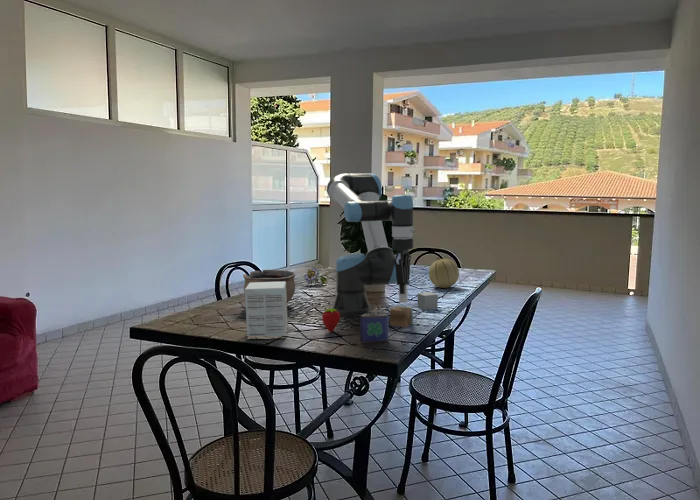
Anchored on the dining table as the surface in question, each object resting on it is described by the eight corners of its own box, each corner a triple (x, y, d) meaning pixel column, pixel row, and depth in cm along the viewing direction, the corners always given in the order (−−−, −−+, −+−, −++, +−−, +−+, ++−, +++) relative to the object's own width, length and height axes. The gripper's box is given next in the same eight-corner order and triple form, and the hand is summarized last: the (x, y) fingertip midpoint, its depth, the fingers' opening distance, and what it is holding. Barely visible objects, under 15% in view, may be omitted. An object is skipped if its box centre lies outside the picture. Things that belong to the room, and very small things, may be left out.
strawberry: (344, 330, 180) (343, 302, 179) (334, 335, 173) (333, 307, 172) (329, 328, 183) (328, 301, 181) (318, 334, 176) (318, 305, 175)
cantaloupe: (459, 290, 246) (459, 259, 244) (428, 290, 248) (428, 259, 247) (458, 285, 260) (458, 256, 259) (429, 284, 263) (428, 256, 261)
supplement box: (251, 330, 183) (249, 282, 181) (288, 328, 184) (286, 280, 182) (246, 340, 170) (243, 289, 168) (286, 339, 171) (284, 287, 169)
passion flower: (310, 296, 267) (297, 278, 267) (320, 288, 277) (306, 271, 277) (325, 285, 262) (311, 267, 262) (334, 278, 271) (320, 260, 271)
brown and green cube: (412, 323, 187) (405, 327, 182) (398, 321, 191) (390, 325, 186) (412, 307, 186) (404, 311, 182) (397, 305, 190) (390, 309, 185)
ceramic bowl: (268, 300, 233) (266, 267, 231) (306, 305, 222) (305, 270, 220) (233, 310, 214) (232, 275, 213) (274, 316, 203) (272, 278, 201)
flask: (388, 340, 167) (387, 308, 166) (389, 342, 164) (389, 310, 163) (360, 341, 166) (359, 309, 165) (361, 344, 164) (360, 311, 162)
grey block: (424, 310, 208) (424, 295, 207) (417, 307, 214) (417, 293, 213) (437, 308, 210) (437, 294, 209) (430, 305, 216) (430, 291, 215)
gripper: (407, 239, 177) (407, 306, 180) (417, 236, 189) (418, 299, 192) (386, 239, 180) (387, 304, 183) (398, 236, 192) (399, 297, 195)
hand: (403, 301), depth 187 cm, fingers closed
